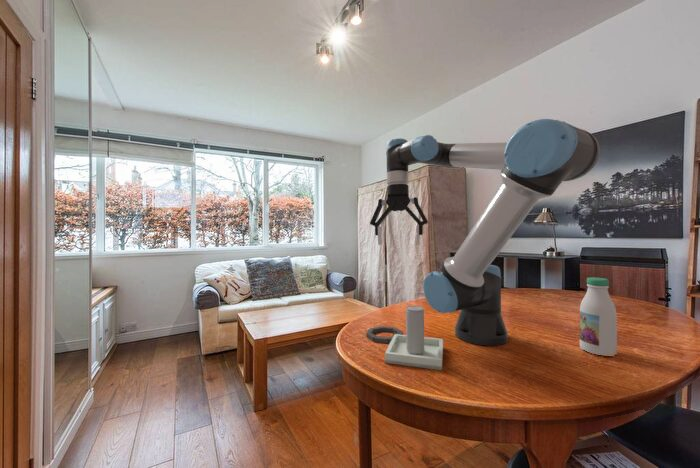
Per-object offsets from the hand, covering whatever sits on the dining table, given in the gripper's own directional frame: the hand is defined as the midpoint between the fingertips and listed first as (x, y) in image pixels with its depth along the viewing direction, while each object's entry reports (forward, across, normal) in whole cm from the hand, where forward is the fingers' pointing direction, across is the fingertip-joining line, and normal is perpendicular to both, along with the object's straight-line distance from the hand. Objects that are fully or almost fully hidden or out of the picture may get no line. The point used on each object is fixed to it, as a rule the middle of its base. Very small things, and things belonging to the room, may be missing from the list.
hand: (398, 244), depth 103 cm
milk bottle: (+29, -55, +7) cm, 63 cm away
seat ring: (+29, +3, +12) cm, 31 cm away
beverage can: (+28, -8, +23) cm, 37 cm away
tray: (+29, -8, +23) cm, 38 cm away
